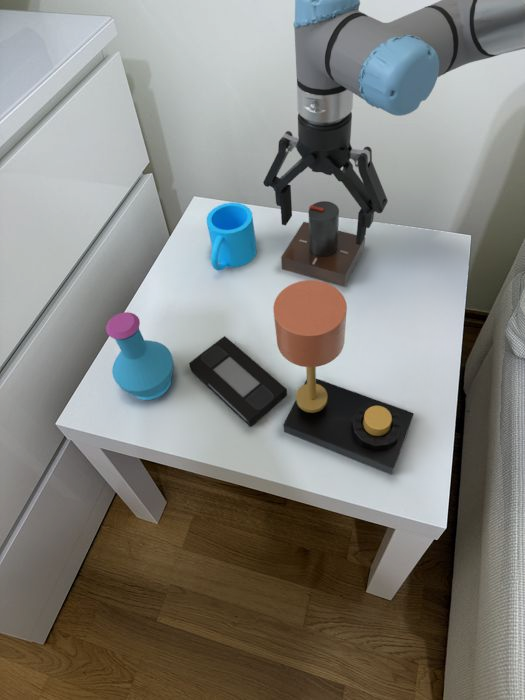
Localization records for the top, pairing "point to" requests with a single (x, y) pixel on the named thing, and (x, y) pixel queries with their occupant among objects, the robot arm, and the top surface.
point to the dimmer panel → (320, 267)
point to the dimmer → (323, 228)
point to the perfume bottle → (139, 359)
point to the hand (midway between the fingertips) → (323, 229)
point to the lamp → (310, 333)
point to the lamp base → (350, 428)
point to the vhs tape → (238, 380)
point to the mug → (231, 235)
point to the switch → (377, 420)
